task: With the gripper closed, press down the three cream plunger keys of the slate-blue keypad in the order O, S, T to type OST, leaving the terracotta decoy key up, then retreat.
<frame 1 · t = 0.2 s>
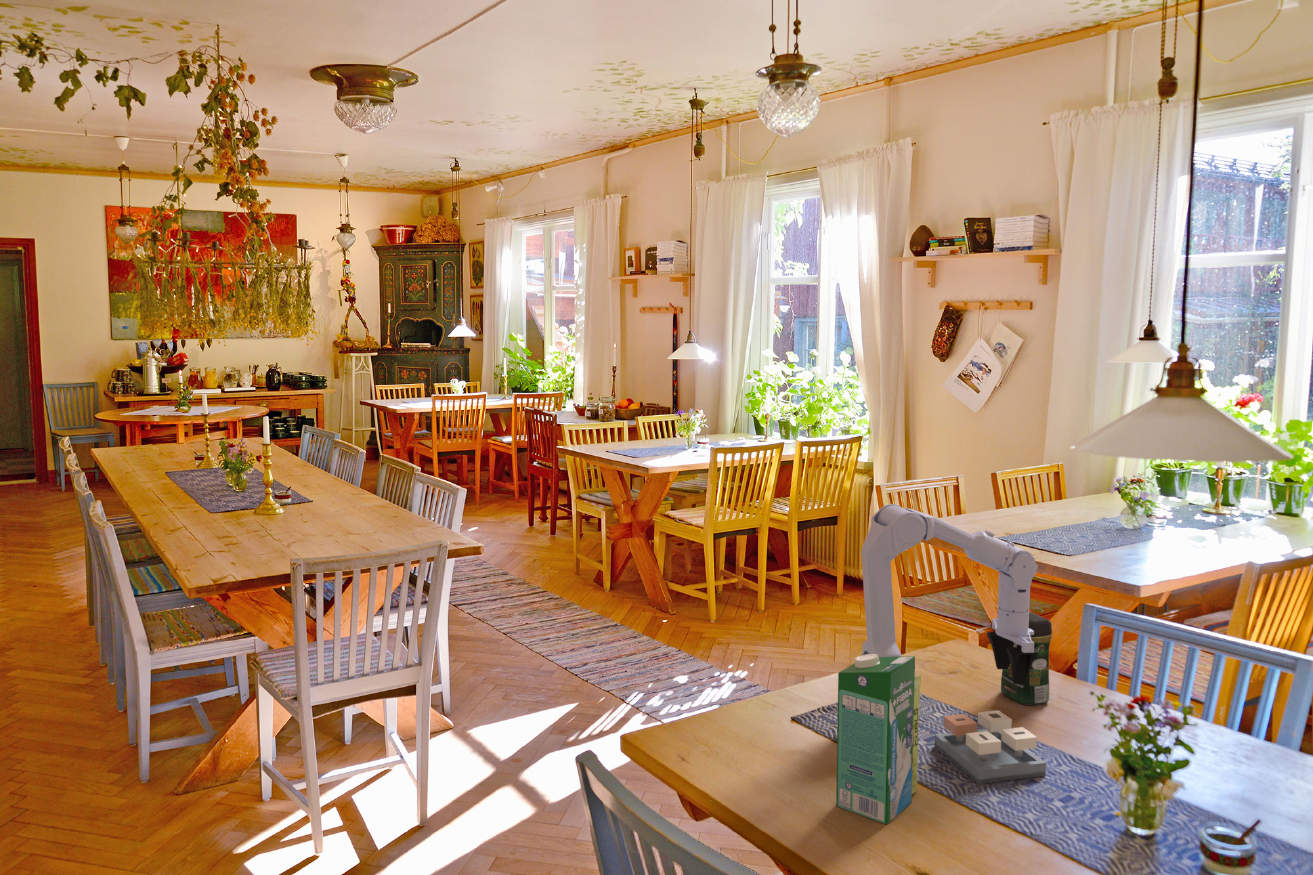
hand: (1010, 675, 178), 10 cm above the table, fingers open, 7 cm apart
key S: (983, 747, 159), point 5 cm above the table, slide at 0.0 cm
tube: (900, 790, 154), on the table
keypad base: (988, 760, 164), on the table
key T: (1018, 743, 161), point 5 cm above the table, slide at 0.0 cm
key O: (994, 726, 168), point 5 cm above the table, slide at 0.0 cm
milk carton: (873, 805, 149), on the table
coffee jar: (1024, 698, 192), on the table
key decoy: (960, 729, 166), point 5 cm above the table, slide at 0.0 cm
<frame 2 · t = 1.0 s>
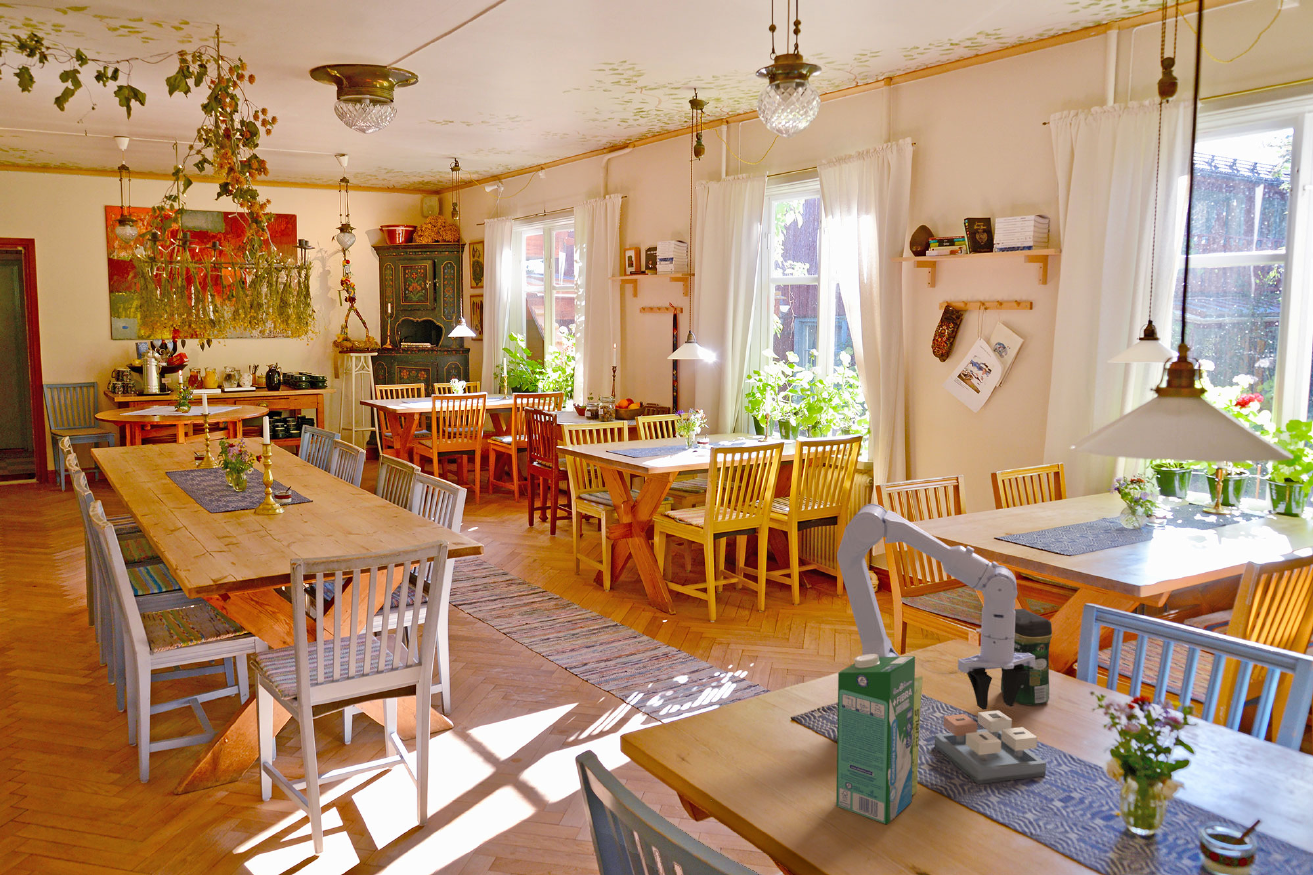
hand: (995, 706, 167), 8 cm above the table, fingers open, 5 cm apart
nothing on the table moved.
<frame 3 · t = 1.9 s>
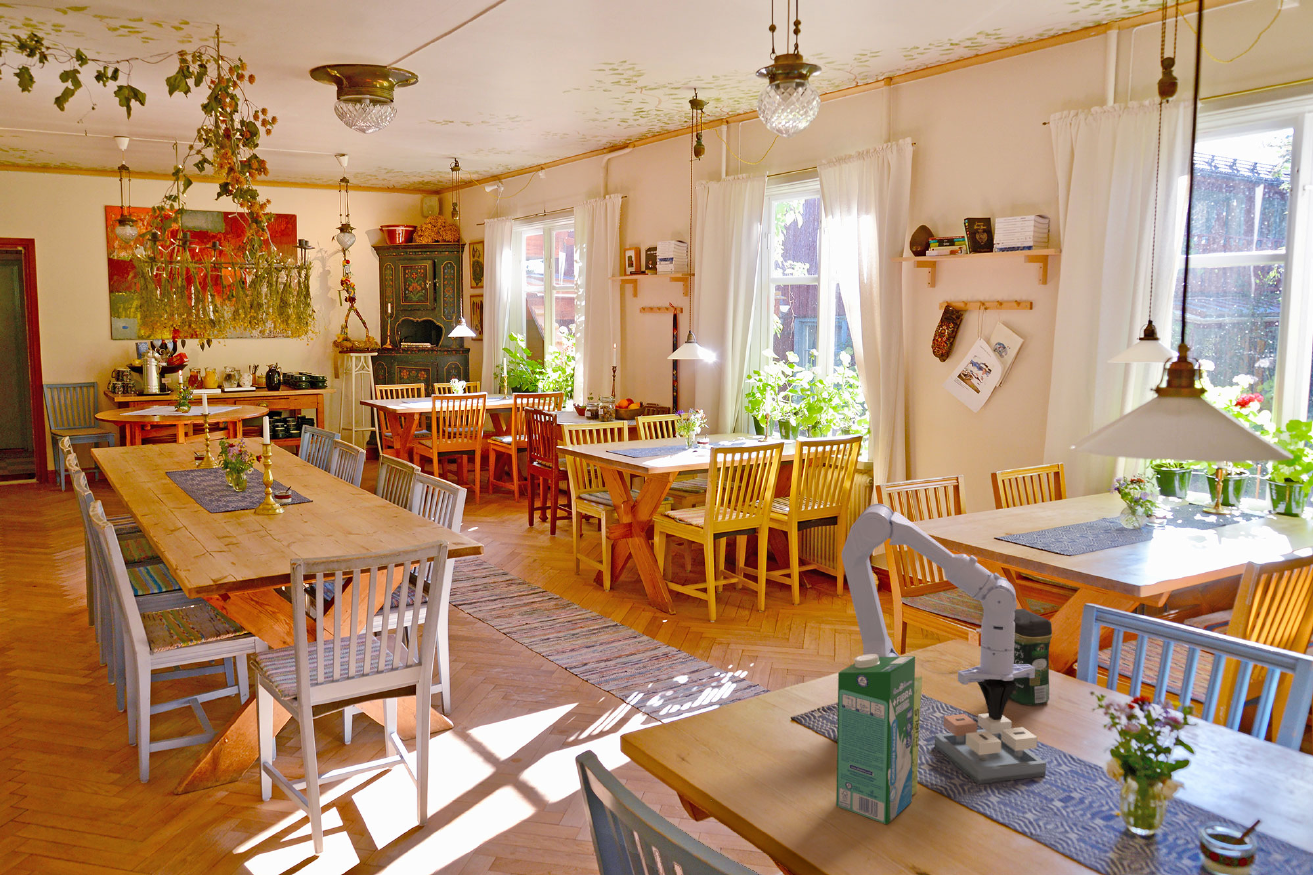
hand: (995, 717, 168), 6 cm above the table, fingers closed, pressing on key O
key O: (994, 727, 168), point 4 cm above the table, slide at 0.4 cm, touching gripper
everything else where it was.
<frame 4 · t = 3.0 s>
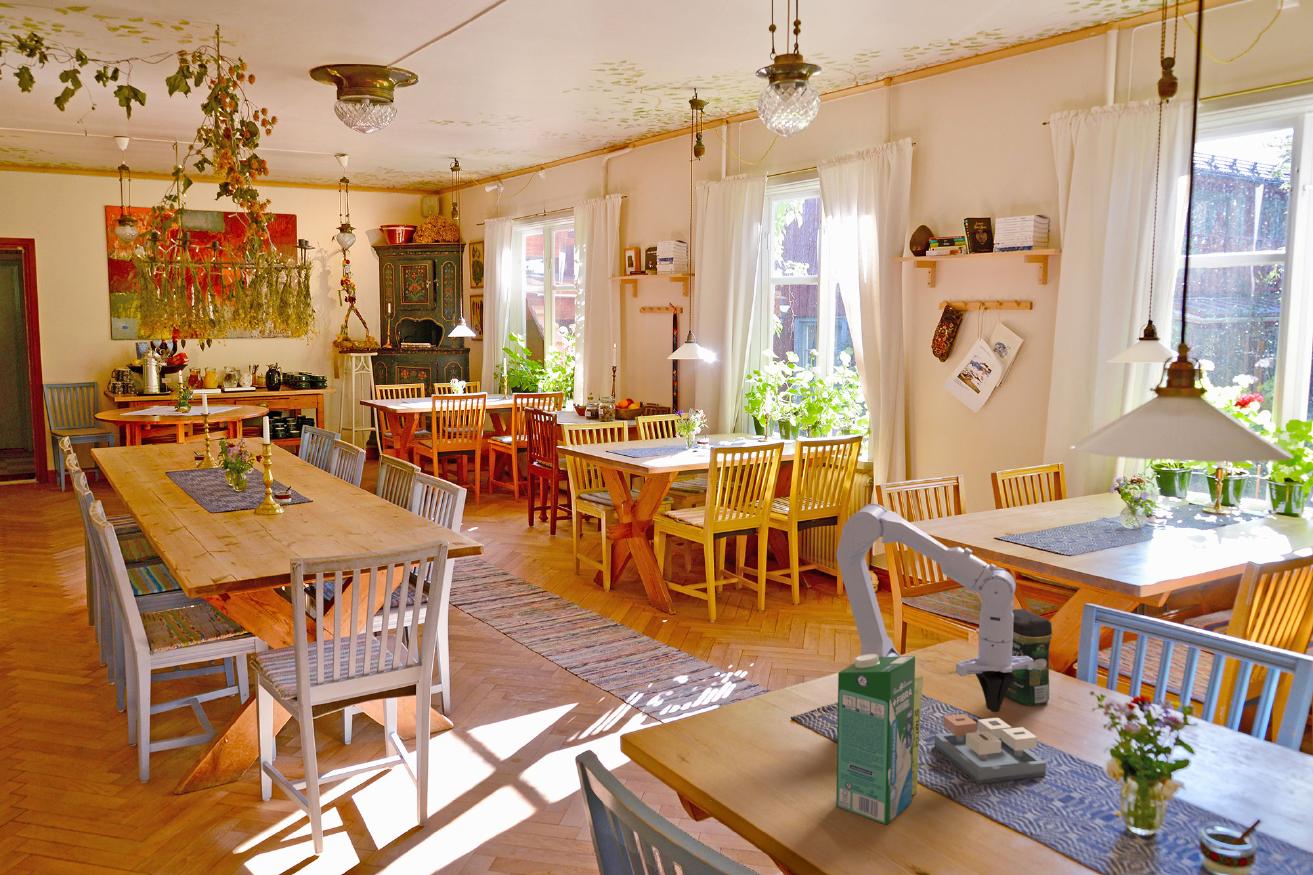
hand: (993, 709, 166), 8 cm above the table, fingers closed
key O: (994, 733, 168), point 3 cm above the table, slide at 1.4 cm
everything else where it was.
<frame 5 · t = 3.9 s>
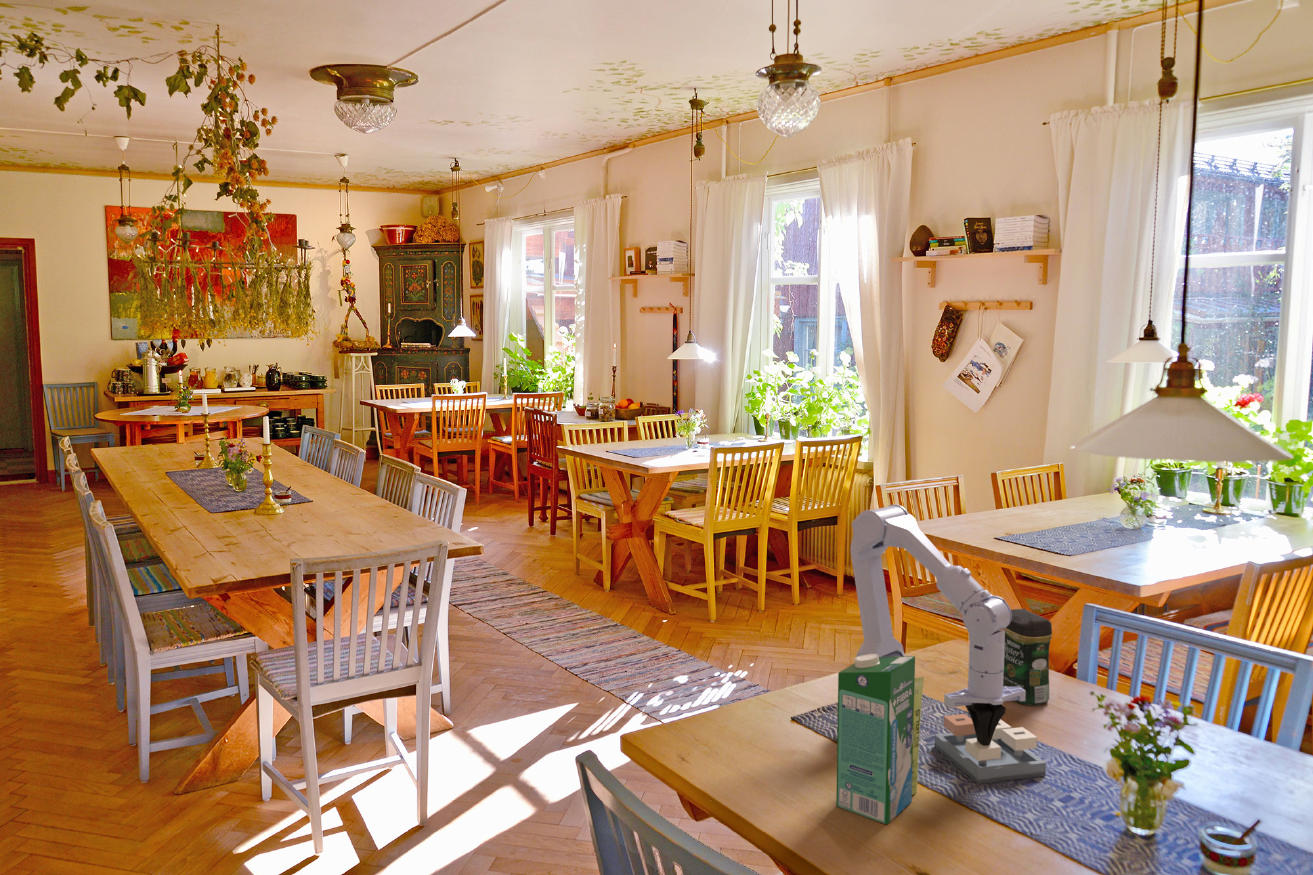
hand: (983, 742, 159), 5 cm above the table, fingers closed, pressing on key S
key S: (982, 753, 159), point 3 cm above the table, slide at 1.1 cm, touching gripper
everything else where it was.
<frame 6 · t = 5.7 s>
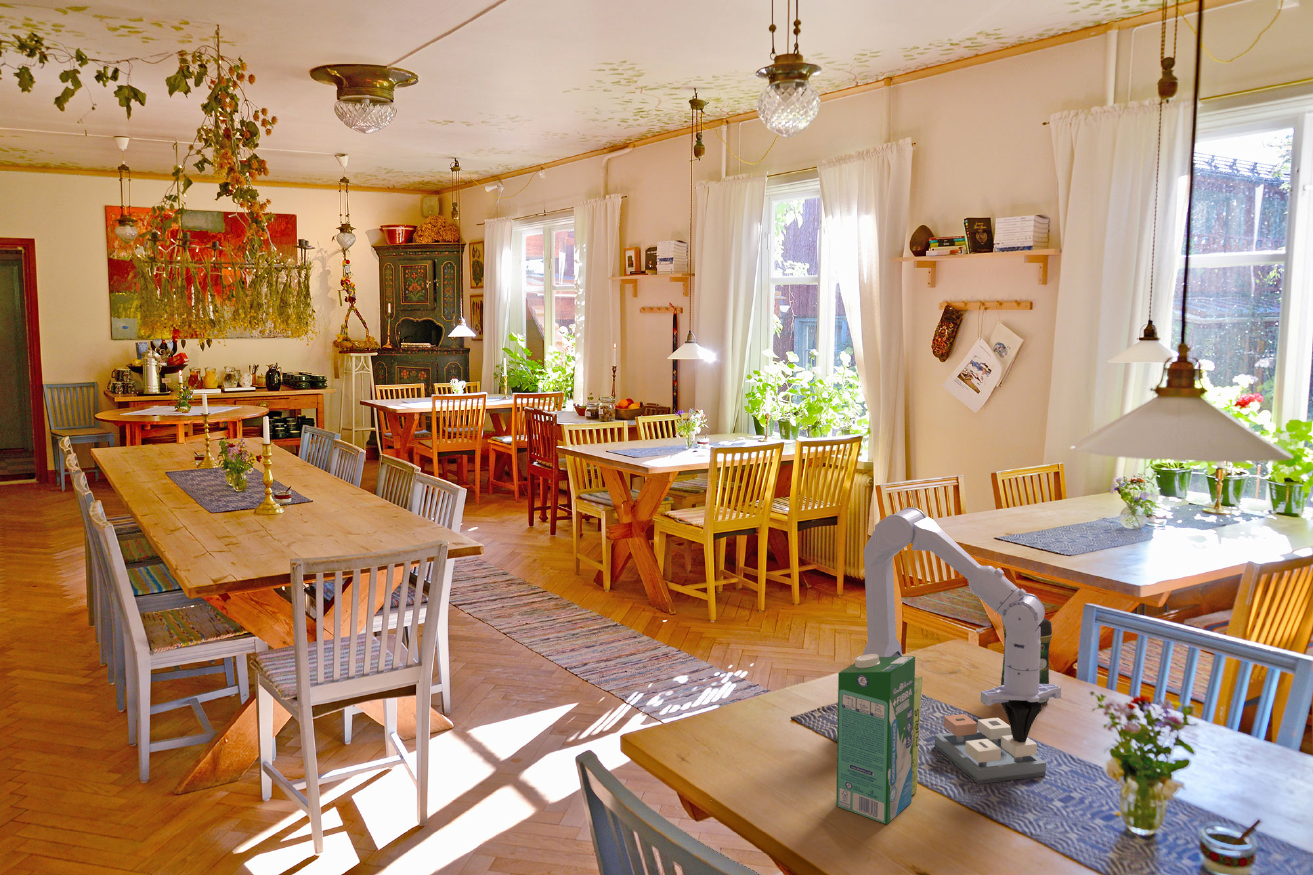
hand: (1019, 739, 160), 5 cm above the table, fingers closed, pressing on key T
key S: (982, 755, 159), point 3 cm above the table, slide at 1.4 cm
key T: (1018, 750, 161), point 3 cm above the table, slide at 1.2 cm, touching gripper
everything else where it was.
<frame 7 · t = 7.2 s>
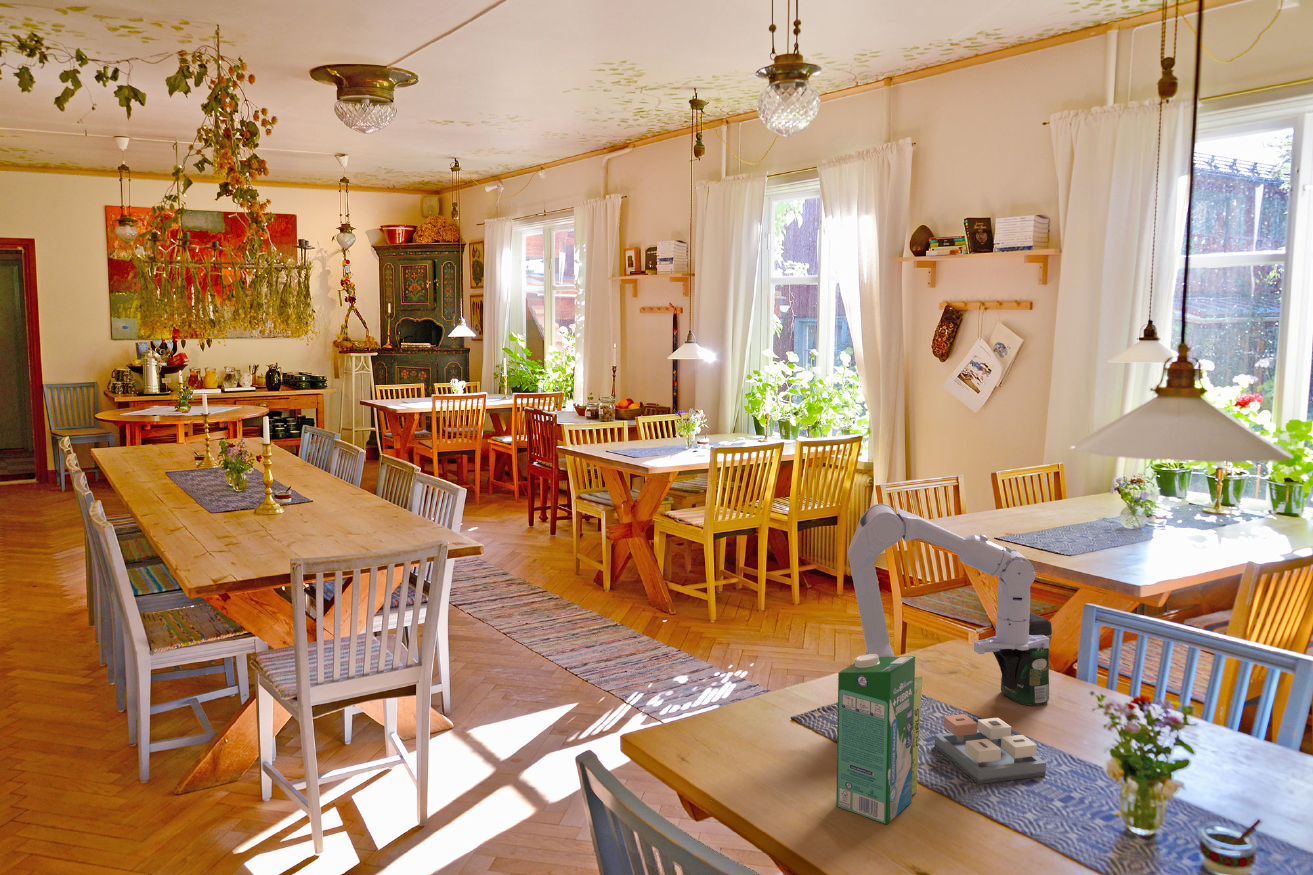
hand: (1010, 687, 171), 10 cm above the table, fingers closed
key T: (1018, 751, 161), point 3 cm above the table, slide at 1.4 cm
everything else where it was.
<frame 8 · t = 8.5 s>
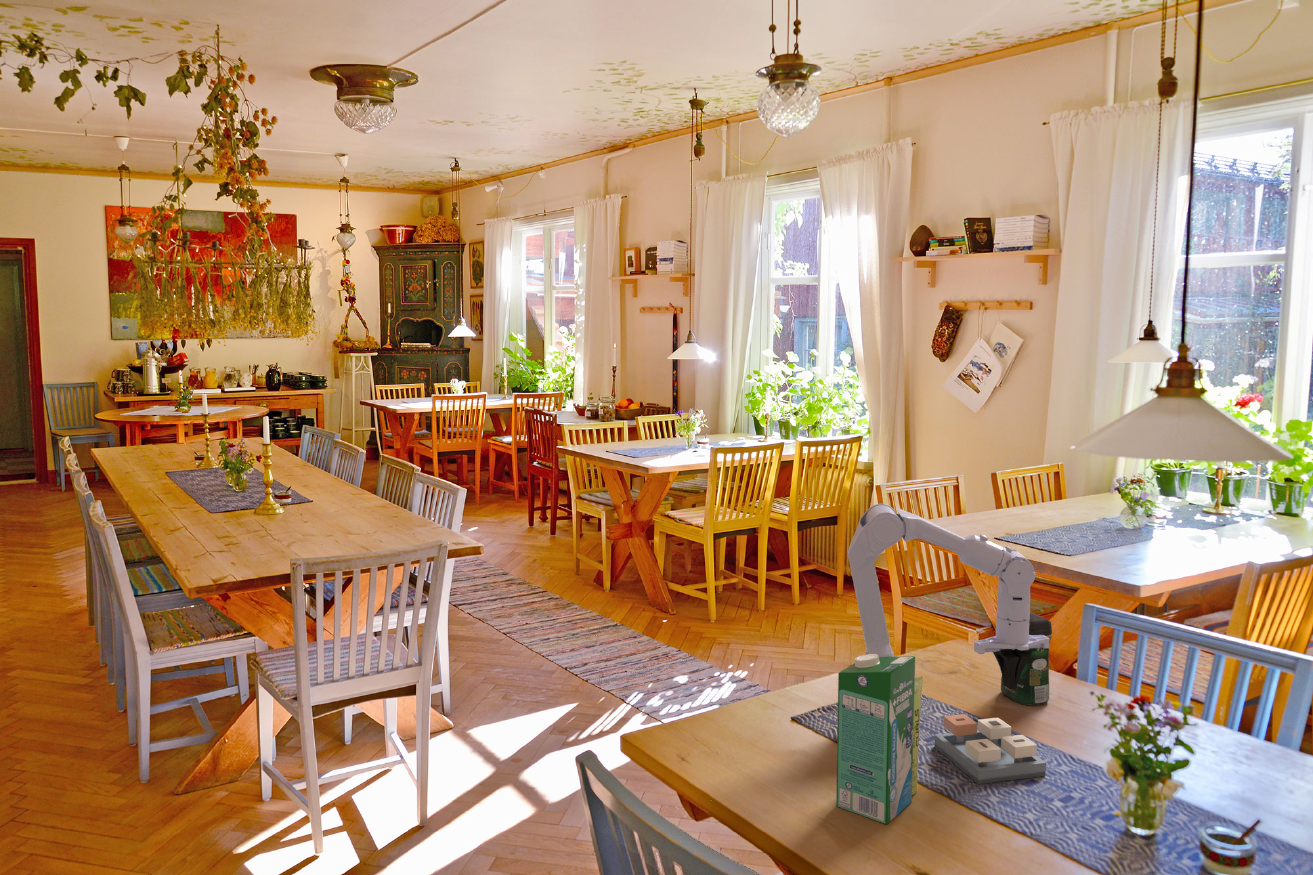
hand: (1010, 687, 171), 10 cm above the table, fingers closed
nothing on the table moved.
at the end: key O slide at 1.4 cm; key S slide at 1.4 cm; key T slide at 1.4 cm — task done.
